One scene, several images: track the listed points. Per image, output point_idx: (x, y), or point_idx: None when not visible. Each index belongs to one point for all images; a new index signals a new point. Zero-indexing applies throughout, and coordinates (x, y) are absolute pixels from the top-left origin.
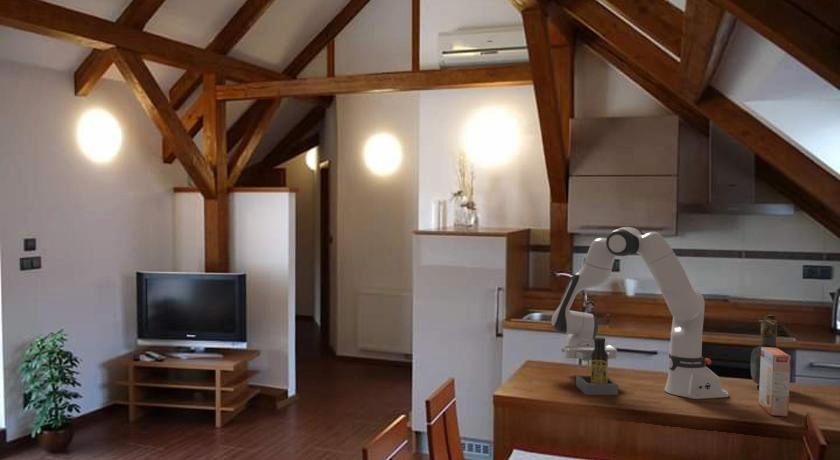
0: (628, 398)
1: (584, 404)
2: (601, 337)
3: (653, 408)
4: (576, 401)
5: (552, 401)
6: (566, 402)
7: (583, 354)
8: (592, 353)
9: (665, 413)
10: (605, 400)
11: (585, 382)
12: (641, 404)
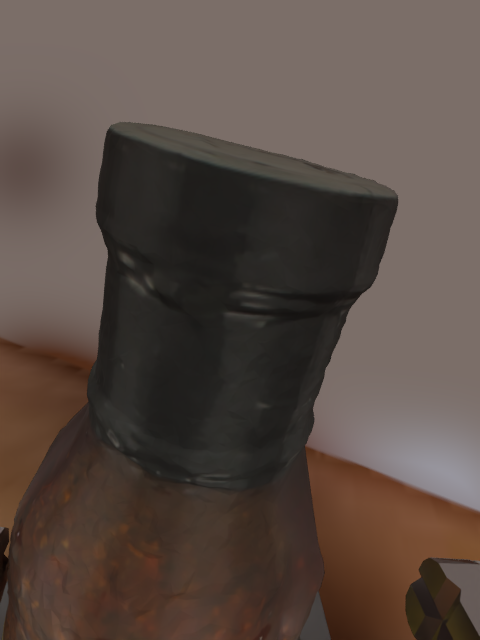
0: (5, 514)
1: (312, 456)
2: (192, 138)
3: (10, 379)
4: (350, 497)
5: (467, 509)
6: (397, 489)
7: (474, 562)
8: (314, 539)
9: (13, 342)
10: None
11: (313, 614)
12: (20, 421)
